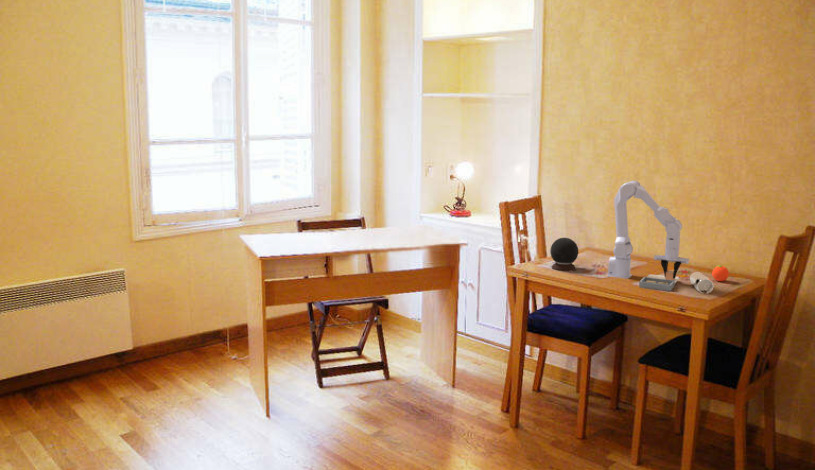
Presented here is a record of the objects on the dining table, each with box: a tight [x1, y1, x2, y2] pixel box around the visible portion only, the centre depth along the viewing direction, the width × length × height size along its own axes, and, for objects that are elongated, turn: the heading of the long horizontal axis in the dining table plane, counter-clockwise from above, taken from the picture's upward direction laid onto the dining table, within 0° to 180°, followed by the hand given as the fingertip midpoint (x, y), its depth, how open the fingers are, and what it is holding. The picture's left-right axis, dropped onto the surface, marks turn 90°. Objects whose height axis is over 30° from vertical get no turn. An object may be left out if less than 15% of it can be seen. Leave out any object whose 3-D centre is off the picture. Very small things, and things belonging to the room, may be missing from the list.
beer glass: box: [689, 271, 714, 294], centre depth 324 cm, size 7×7×15 cm
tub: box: [638, 276, 676, 292], centre depth 327 cm, size 13×10×3 cm
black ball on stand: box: [549, 237, 579, 272], centre depth 360 cm, size 13×13×15 cm
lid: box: [646, 270, 680, 284], centre depth 336 cm, size 13×10×4 cm
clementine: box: [711, 265, 730, 282], centre depth 340 cm, size 8×7×7 cm
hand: (669, 277), depth 334 cm, fingers closed on lid, 3 cm apart
